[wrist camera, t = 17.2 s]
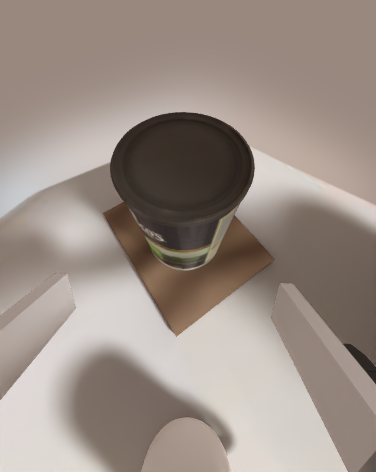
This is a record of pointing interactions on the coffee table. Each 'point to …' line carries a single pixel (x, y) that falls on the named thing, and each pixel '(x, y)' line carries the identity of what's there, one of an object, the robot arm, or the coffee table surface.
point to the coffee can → (182, 183)
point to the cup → (186, 449)
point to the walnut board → (190, 281)
